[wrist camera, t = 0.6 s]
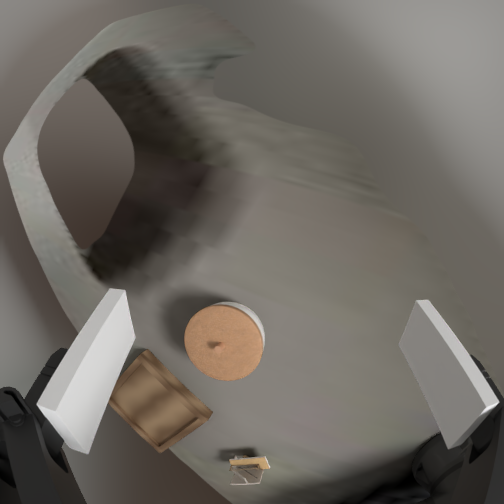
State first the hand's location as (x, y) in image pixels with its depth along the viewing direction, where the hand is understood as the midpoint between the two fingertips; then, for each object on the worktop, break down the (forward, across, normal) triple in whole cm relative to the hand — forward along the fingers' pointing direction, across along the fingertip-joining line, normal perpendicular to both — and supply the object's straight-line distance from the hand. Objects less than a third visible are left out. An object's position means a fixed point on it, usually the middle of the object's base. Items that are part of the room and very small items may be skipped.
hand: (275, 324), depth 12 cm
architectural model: (+16, -1, +46) cm, 49 cm away
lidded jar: (+26, +2, +22) cm, 34 cm away
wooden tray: (+22, +17, +39) cm, 48 cm away
